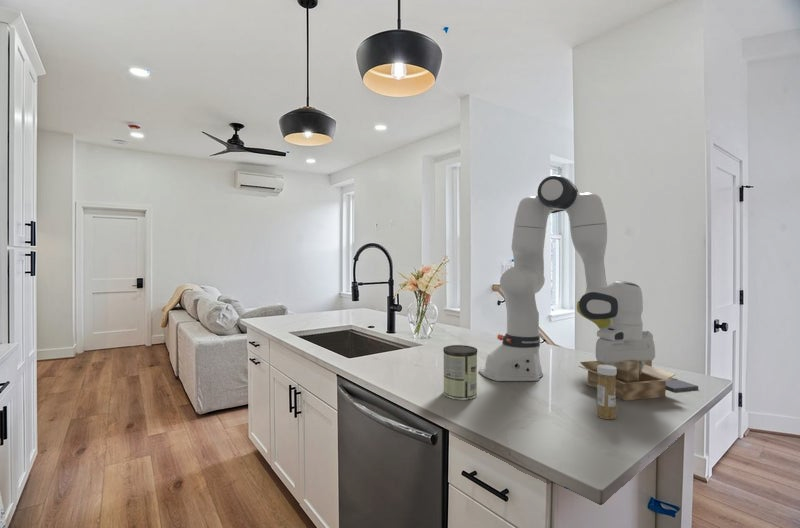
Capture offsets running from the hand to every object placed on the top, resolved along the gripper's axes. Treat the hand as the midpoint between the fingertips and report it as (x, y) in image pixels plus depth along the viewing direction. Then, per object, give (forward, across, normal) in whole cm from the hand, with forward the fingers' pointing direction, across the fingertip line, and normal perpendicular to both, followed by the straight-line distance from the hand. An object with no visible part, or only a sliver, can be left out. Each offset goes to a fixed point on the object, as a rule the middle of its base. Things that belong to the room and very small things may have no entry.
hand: (625, 375), depth 126 cm
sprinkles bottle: (+5, +22, +16) cm, 28 cm away
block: (+5, 0, 0) cm, 5 cm away
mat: (+5, -19, 0) cm, 20 cm away
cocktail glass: (+5, -11, -22) cm, 25 cm away
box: (+5, -24, -16) cm, 29 cm away
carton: (+5, 0, 0) cm, 5 cm away
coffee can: (+5, +53, -9) cm, 54 cm away
